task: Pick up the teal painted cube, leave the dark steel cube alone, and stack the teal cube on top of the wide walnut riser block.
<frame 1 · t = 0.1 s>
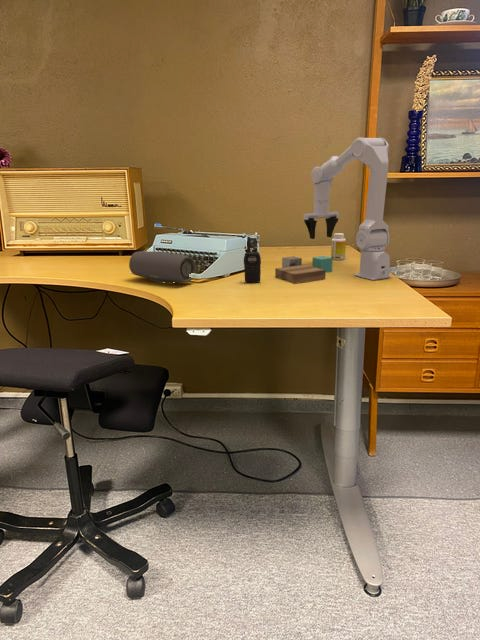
hand: (320, 237, 179), 10 cm above the table, fingers open, 7 cm apart
two-way radio: (252, 282, 155), on the table
bluetooth speaker: (163, 282, 159), on the table
steel cube: (291, 271, 170), on the table
supplement bottle: (338, 259, 191), on the table
teal cube: (322, 271, 169), on the table
walnut riser: (299, 278, 159), on the table
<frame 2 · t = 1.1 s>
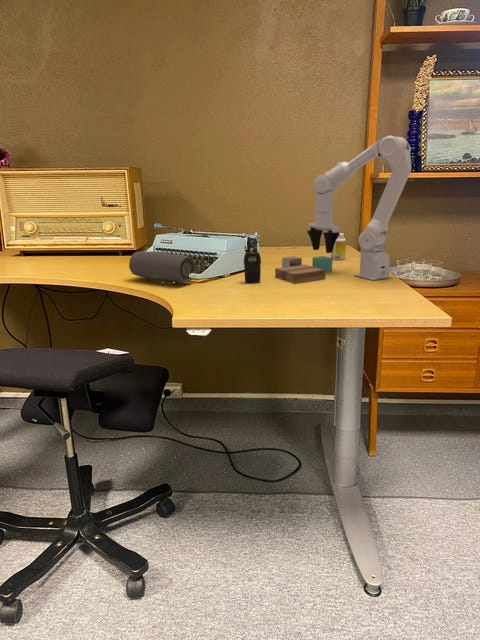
hand: (322, 251, 166), 7 cm above the table, fingers open, 7 cm apart
nothing on the table moved.
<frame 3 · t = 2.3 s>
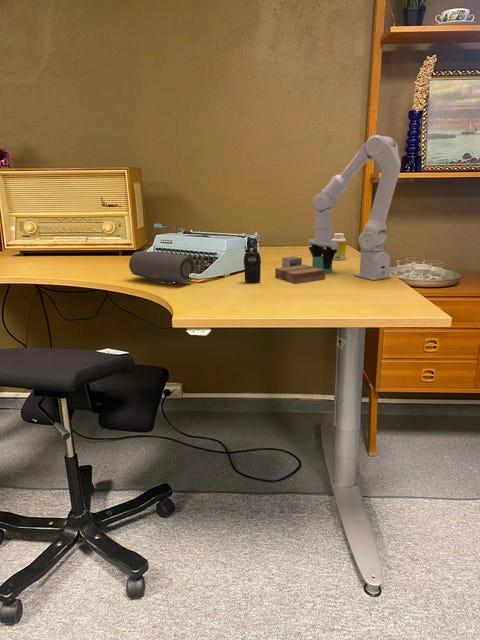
hand: (322, 267, 168), 1 cm above the table, fingers closed on teal cube, 5 cm apart
teal cube: (322, 271, 168), on the table, touching gripper
everything else where it was.
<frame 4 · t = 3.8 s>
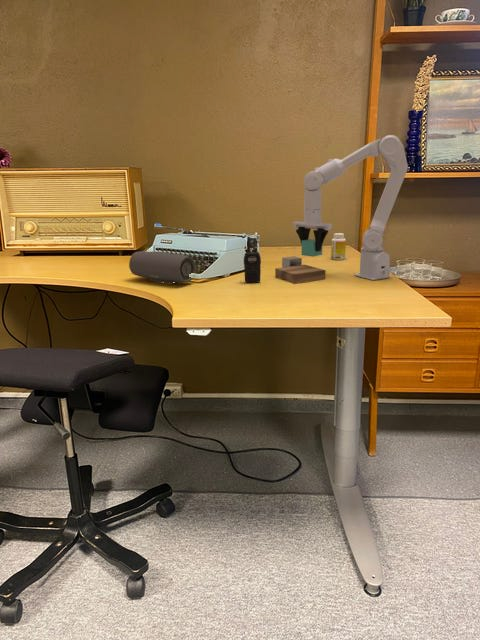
hand: (311, 250, 161), 8 cm above the table, fingers closed on teal cube, 5 cm apart
teal cube: (311, 254, 162), point 7 cm above the table, touching gripper
everything else where it was.
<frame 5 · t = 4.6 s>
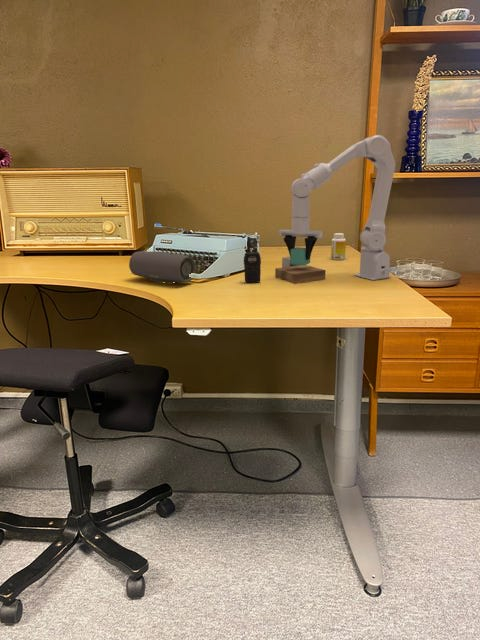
hand: (300, 258, 157), 7 cm above the table, fingers closed on teal cube, 5 cm apart
teal cube: (300, 263, 157), point 5 cm above the table, touching gripper
everything else where it was.
when the fingers open (5 cm above the table, at t = 5.3 s): teal cube stays where it is, resting on walnut riser.
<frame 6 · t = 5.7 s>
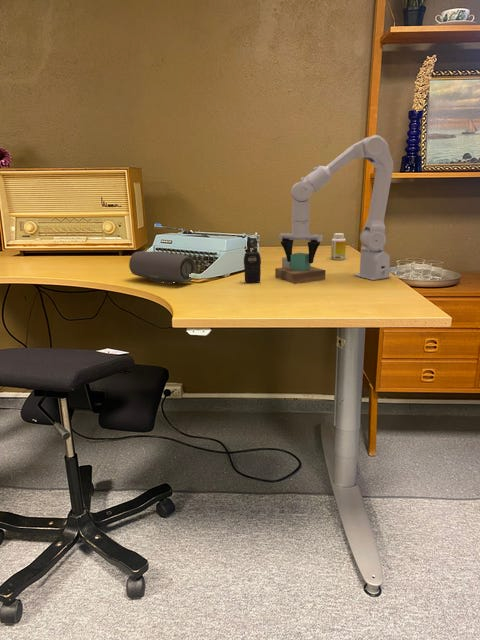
hand: (300, 262, 157), 5 cm above the table, fingers open, 7 cm apart
teal cube: (300, 269, 158), point 3 cm above the table, touching walnut riser
everything else where it was.
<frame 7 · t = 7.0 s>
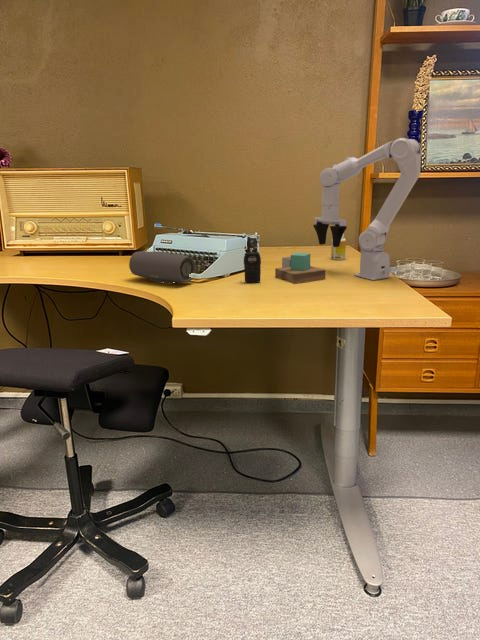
hand: (329, 245, 164), 9 cm above the table, fingers open, 7 cm apart
nothing on the table moved.
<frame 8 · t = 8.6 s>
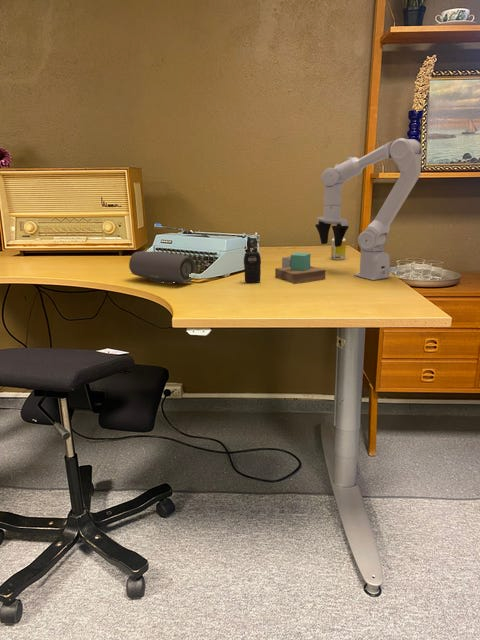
hand: (330, 245, 165), 9 cm above the table, fingers open, 7 cm apart
nothing on the table moved.
at the end: teal cube inside the target area on the walnut riser (0.4 cm from its centre), point 3.0 cm above the walnut riser's base; teal cube tilted 0°; the gripper is holding nothing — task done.
